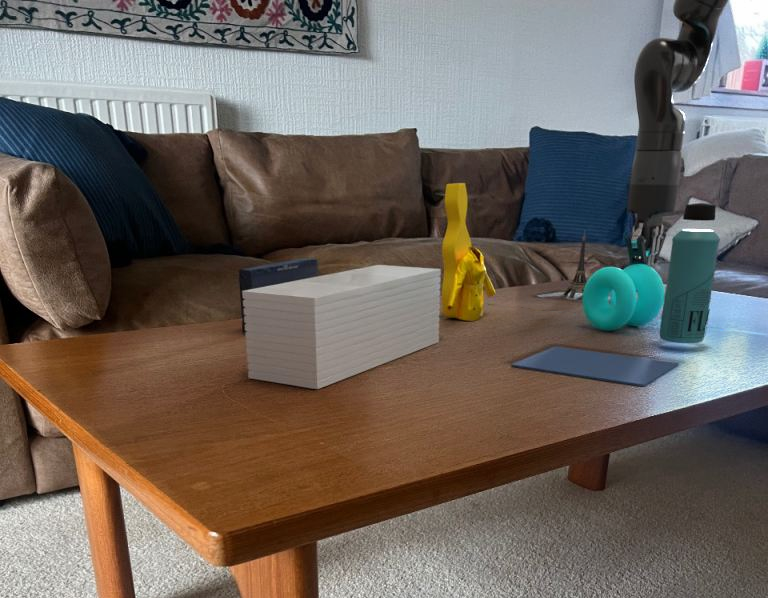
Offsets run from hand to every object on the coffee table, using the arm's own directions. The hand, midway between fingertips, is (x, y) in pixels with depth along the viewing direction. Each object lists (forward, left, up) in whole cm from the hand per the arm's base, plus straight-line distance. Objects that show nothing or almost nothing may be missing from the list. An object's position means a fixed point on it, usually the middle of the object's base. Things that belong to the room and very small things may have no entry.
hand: (640, 291), depth 134 cm
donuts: (0, +8, -5) cm, 10 cm away
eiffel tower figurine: (+17, -16, -5) cm, 24 cm away
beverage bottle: (-13, +19, -5) cm, 23 cm away
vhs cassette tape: (+47, +39, -5) cm, 61 cm away
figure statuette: (+26, +15, -5) cm, 31 cm away
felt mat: (-7, +36, -5) cm, 37 cm away
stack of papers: (+22, +52, -5) cm, 57 cm away
